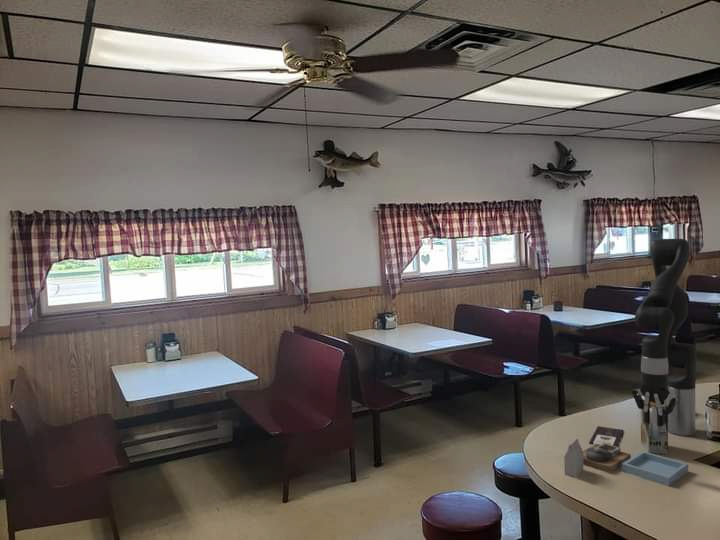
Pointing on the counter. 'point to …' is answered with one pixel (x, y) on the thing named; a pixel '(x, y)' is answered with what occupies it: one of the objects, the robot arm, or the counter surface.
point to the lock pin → (653, 420)
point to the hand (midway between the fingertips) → (654, 424)
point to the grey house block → (574, 459)
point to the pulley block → (604, 457)
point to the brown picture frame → (606, 436)
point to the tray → (655, 468)
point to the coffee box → (651, 442)
